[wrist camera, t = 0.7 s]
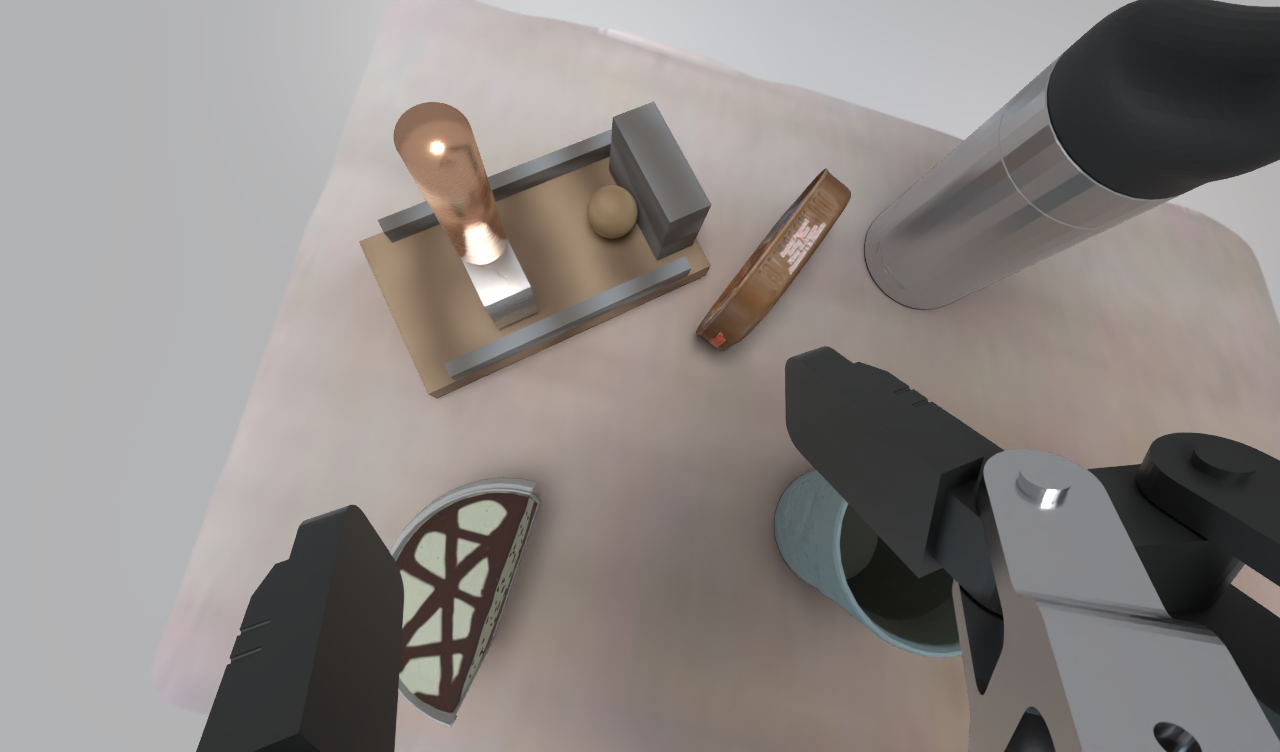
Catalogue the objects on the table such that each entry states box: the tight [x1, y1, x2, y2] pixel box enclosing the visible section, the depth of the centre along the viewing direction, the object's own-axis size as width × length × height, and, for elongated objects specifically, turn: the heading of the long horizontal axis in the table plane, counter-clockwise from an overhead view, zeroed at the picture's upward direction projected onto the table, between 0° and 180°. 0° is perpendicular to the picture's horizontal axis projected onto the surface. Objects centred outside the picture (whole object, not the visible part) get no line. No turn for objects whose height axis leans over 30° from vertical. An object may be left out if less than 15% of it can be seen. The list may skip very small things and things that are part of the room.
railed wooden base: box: [359, 102, 711, 398], centre depth 36 cm, size 22×12×8 cm, turn 117°
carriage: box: [394, 102, 538, 329], centre depth 29 cm, size 3×8×15 cm, turn 27°
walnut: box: [587, 185, 638, 239], centre depth 37 cm, size 4×4×4 cm
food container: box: [390, 478, 541, 727], centre depth 31 cm, size 12×6×10 cm, turn 163°
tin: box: [696, 169, 851, 351], centre depth 37 cm, size 15×3×8 cm, turn 143°
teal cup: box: [774, 470, 962, 658], centre depth 32 cm, size 10×10×12 cm
